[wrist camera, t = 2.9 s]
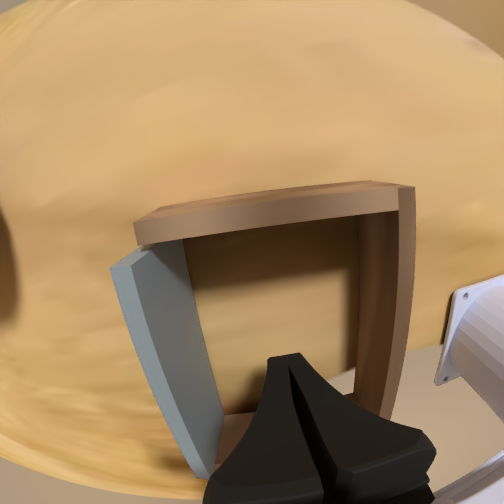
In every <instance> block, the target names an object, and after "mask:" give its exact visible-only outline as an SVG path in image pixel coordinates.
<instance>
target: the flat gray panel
mask: <svg viewBox="0 0 504 504" xmlns="http://www.w3.org/2000/svg"><path fill="white" fill-rule="evenodd" d="M110 271H111V275H112V279H113V282H114V286H115V289H116V293H117V296H118V299H119V303H120V306H121V309H122V312H123V315H124V318H125V321H126V324H127V327H128V330H129V333H130V336H131V339H132V342H133V344H134V347H135V350H136V352H137V355H138V358H139V360H140V363H141V365H142V368H143V370H144V373H145V375H146V378H147V380H148V383H149V385H150V387H151V390H152V392H153V394H154V396H155V399H156V401H157V403H158V405H159V408H160V410H161V412H162V414H163V416H164V418H165V420H166V422H167V424H168V426H169V428H170V430H171V432H172V434H173V436H174V438H175V440H176V442H177V444H178V446H179V448H180V450H181V452H182V453H183V455H184V457H185V459H186V461H187V462H188V464H189V466H190V468H191V469H192V471H193V473H194V475H195V476H196V478H201V479H209V478H210V476H211V475H212V474H213V469H214V464H215V459H216V455H217V450H218V445H219V440H220V436H221V431H222V426H223V421H224V416H225V415H224V412H223V408H222V405H221V401H220V398H219V394H218V391H217V387H216V384H215V380H214V376H213V373H212V369H211V365H210V361H209V358H208V354H207V350H206V346H205V342H204V338H203V334H202V330H201V326H200V321H199V317H198V313H197V308H196V304H195V300H194V295H193V291H192V286H191V281H190V277H189V272H188V267H187V262H186V257H185V252H184V247H183V241H182V239H177V240H171V241H164V242H158V243H152V244H146V245H142V246H141V247H139V248H138V249H136V250H135V251H133V252H132V253H130V254H129V255H127V256H126V257H124V258H123V259H122V260H120V261H119V262H117V263H116V264H114V265H113V266H111V267H110Z"/></svg>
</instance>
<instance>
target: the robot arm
mask: <svg viewBox="0 0 504 504" xmlns="http://www.w3.org/2000/svg"><path fill="white" fill-rule="evenodd" d="M459 376H462V377H463V378H464V379H465V380H466V381H467V382H468V383H469V385H470V386H471V387H472V388H473V389H474V390H475V391H476V392H477V393H478V394H479V395H480V397H481V398H482V399H483V400H484V401H485V402H486V403H487V404H488V405H489V406H490V408H491V409H492V410H493V411H494V412H495V413H496V415H497V416H498V417H499V418H500V419H501V420H502V421H503V422H504V274H503V275H500V276H497V277H494V278H491V279H488V280H485V281H482V282H479V283H476V284H473V285H470V286H467V287H464V288H460V289H458V290H456V291H455V292H454V294H453V297H452V303H451V309H450V315H449V320H448V325H447V330H446V335H445V340H444V344H443V348H442V353H441V357H440V361H439V365H438V368H437V372H436V375H435V379H434V383H435V384H436V385H438V386H439V385H441V384H444V383H446V382H448V381H450V380H452V379H455V378H457V377H459ZM435 456H436V449H435V447H434V446H433V444H432V442H431V441H430V440H429V438H428V437H427V436H426V435H425V434H424V433H423V431H422V430H420V429H416V428H412V427H409V426H405V425H401V424H398V423H395V422H392V421H390V420H387V419H384V418H382V417H380V416H378V415H376V414H374V413H372V412H369V411H367V410H366V409H364V408H362V407H360V406H359V405H357V404H355V403H354V402H352V401H351V400H349V399H348V398H346V397H345V396H344V395H342V394H341V393H340V392H338V391H337V390H336V389H335V388H334V387H332V386H331V385H330V384H329V383H328V382H327V381H326V380H325V379H324V378H322V377H321V376H320V375H319V374H318V373H317V372H316V371H315V370H314V368H313V367H312V366H311V365H310V364H309V363H308V362H307V360H306V359H305V358H304V357H303V355H302V354H300V353H294V354H288V355H282V356H276V357H270V358H269V359H268V360H267V375H266V380H265V384H264V388H263V392H262V395H261V398H260V401H259V404H258V407H257V409H256V411H255V414H254V416H253V418H252V420H251V422H250V424H249V426H248V428H247V430H246V431H245V433H244V435H243V436H242V438H241V440H240V441H239V443H238V444H237V445H236V447H235V448H234V450H233V451H232V452H231V454H230V455H229V456H228V458H227V459H226V460H225V461H224V462H223V463H222V464H221V465H220V467H219V468H218V469H217V470H216V471H215V472H214V473H213V474H212V475H211V476H210V478H209V481H208V484H207V486H206V489H205V493H204V497H203V504H504V449H503V450H502V451H501V452H499V453H498V454H497V455H495V456H494V457H492V458H491V459H489V460H488V461H486V462H485V463H484V464H482V465H481V466H479V467H477V468H476V469H474V470H473V471H472V472H470V473H468V474H466V475H465V476H463V477H461V478H460V479H458V480H456V481H454V482H453V483H451V484H449V485H447V486H445V487H444V488H442V489H440V490H438V491H436V492H434V493H432V491H431V489H430V487H429V486H428V484H427V483H429V481H430V480H429V477H428V475H427V474H426V472H427V471H428V469H429V467H430V465H431V464H432V462H433V461H434V458H435Z"/></svg>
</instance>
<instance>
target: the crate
mask: <svg viewBox="0 0 504 504" xmlns="http://www.w3.org/2000/svg"><path fill="white" fill-rule="evenodd" d="M352 215H358V233H359V323H358V343H357V358H356V370H355V383H354V392H353V393H350V394H347V395H344V396H345V397H346V398H348V399H349V400H351V401H352V402H354V403H355V404H357V405H359V406H360V407H362V408H364V409H366V410H367V411H369V412H372V413H374V414H376V415H378V416H380V417H382V418H384V419H387V420H390V418H391V415H392V411H393V407H394V403H395V399H396V395H397V390H398V386H399V381H400V376H401V371H402V367H403V361H404V356H405V350H406V344H407V338H408V331H409V323H410V315H411V307H412V297H413V285H414V271H415V250H416V200H415V187H412V186H406V185H399V184H392V183H385V182H377V181H358V182H346V183H334V184H324V185H314V186H304V187H295V188H286V189H278V190H270V191H262V192H254V193H247V194H239V195H232V196H226V197H219V198H212V199H206V200H200V201H193V202H187V203H181V204H176V205H170V206H164V207H160V208H158V209H156V210H155V211H153V212H151V213H149V214H147V215H146V216H144V217H142V218H140V219H139V220H137V221H135V222H133V225H134V230H135V234H136V239H137V244H138V246H140V245H146V244H152V243H158V242H164V241H171V240H177V239H184V238H190V237H197V236H203V235H210V234H217V233H224V232H230V231H237V230H244V229H252V228H259V227H266V226H273V225H281V224H288V223H296V222H303V221H311V220H319V219H327V218H335V217H343V216H352ZM254 414H255V412H250V413H241V414H232V415H225V416H224V421H223V426H222V431H221V436H220V440H219V445H218V450H217V455H216V459H215V464H214V471H216V470H217V469H218V468H219V467H220V465H221V464H222V463H223V462H224V461H225V460H226V459H227V458H228V456H229V455H230V454H231V452H232V451H233V450H234V448H235V447H236V445H237V444H238V443H239V441H240V440H241V438H242V436H243V435H244V433H245V431H246V430H247V428H248V426H249V424H250V422H251V420H252V418H253V416H254Z"/></svg>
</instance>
